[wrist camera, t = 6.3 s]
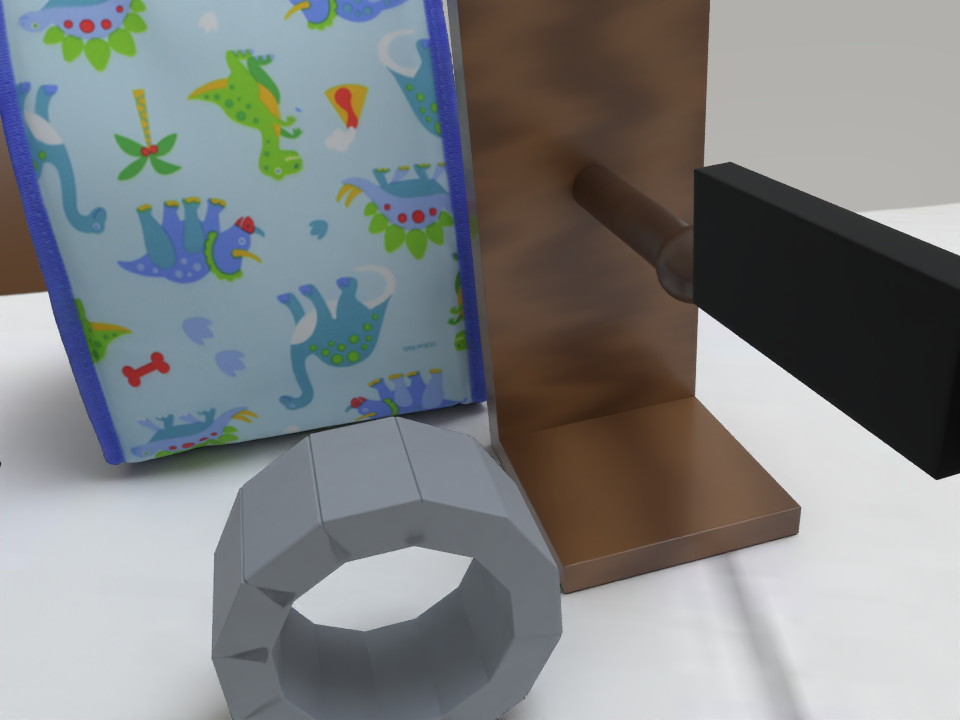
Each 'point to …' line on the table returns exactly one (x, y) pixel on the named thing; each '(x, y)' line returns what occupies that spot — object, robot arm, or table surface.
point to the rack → (599, 281)
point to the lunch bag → (244, 212)
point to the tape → (367, 532)
